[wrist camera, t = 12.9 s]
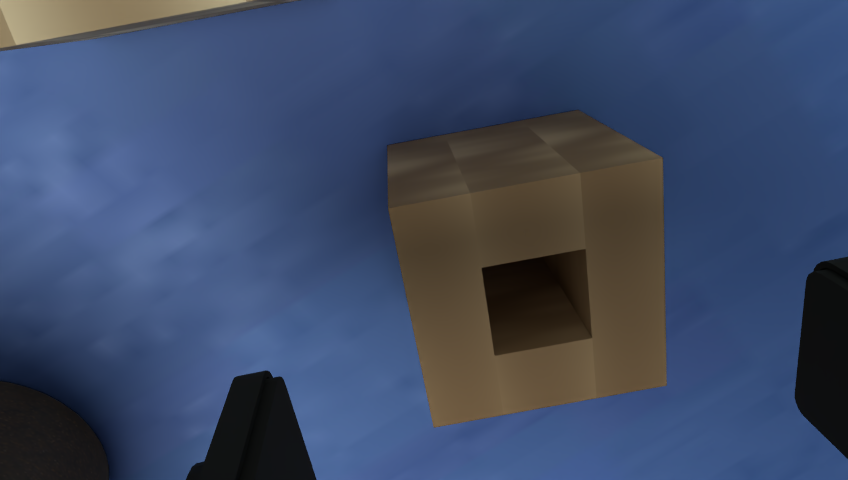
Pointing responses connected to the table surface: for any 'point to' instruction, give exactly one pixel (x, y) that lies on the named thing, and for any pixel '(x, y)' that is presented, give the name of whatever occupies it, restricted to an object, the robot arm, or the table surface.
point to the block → (531, 264)
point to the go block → (102, 17)
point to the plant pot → (45, 439)
